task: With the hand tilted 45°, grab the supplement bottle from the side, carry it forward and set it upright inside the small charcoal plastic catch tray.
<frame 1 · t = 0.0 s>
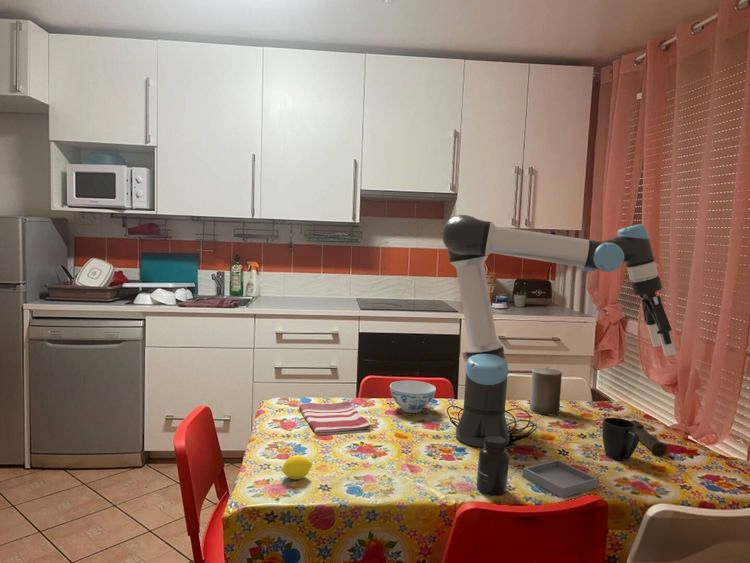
hand: (664, 350, 163), 28 cm above the table, tool tilted 20°, fingers open, 13 cm apart
dish towel: (333, 422, 174), on the table
catch tray: (559, 482, 137), on the table
pillar candle: (543, 411, 193), on the table
lemon: (296, 478, 132), on the table
hand tool: (642, 444, 166), on the table
mug: (620, 459, 153), on the table
chinaware: (411, 410, 187), on the table
supplement bottle: (491, 490, 131), on the table
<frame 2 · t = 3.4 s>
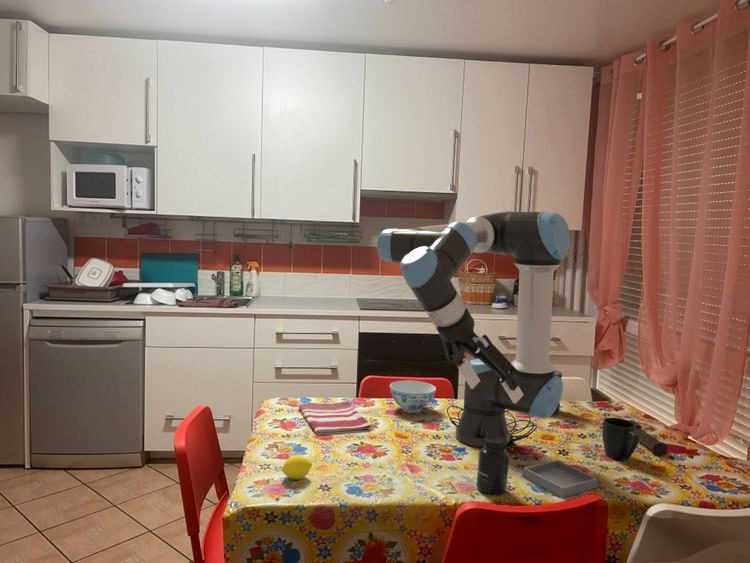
hand: (496, 391, 124), 24 cm above the table, tool tilted 40°, fingers open, 13 cm apart
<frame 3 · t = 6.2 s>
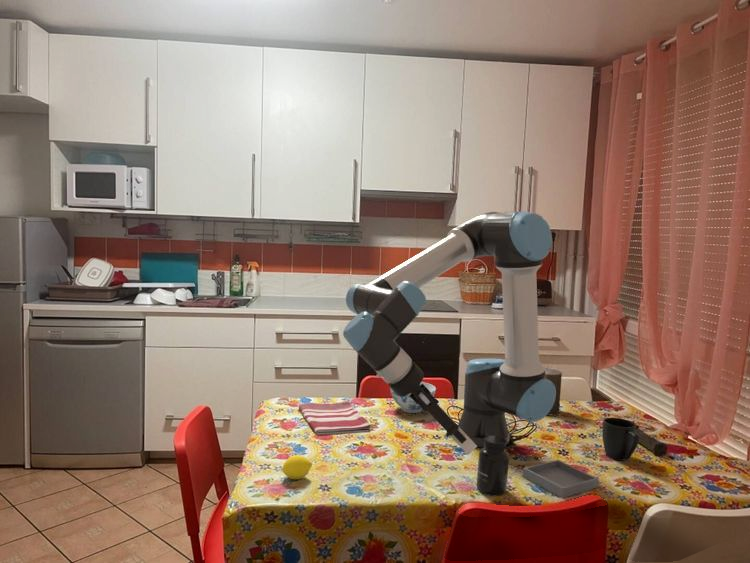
hand: (461, 438, 128), 12 cm above the table, tool tilted 45°, fingers open, 13 cm apart
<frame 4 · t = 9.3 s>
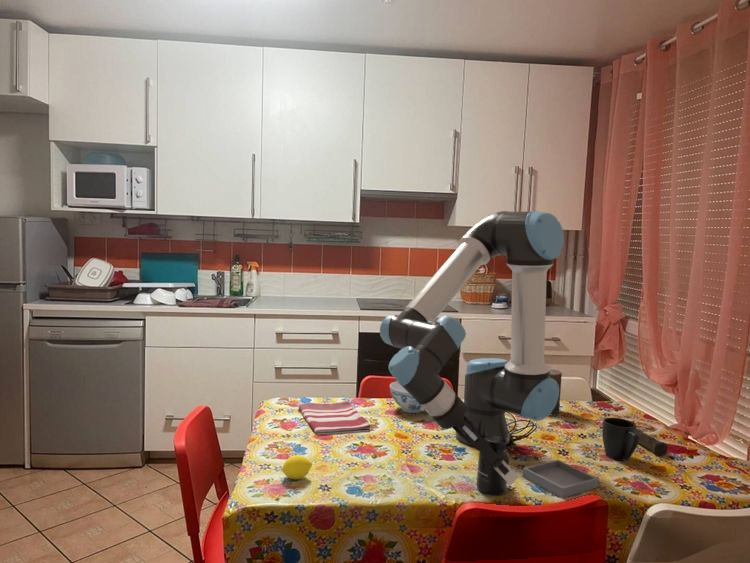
hand: (507, 473, 131), 4 cm above the table, tool tilted 45°, fingers closed on supplement bottle, 7 cm apart
supplement bottle: (491, 490, 131), on the table, touching gripper
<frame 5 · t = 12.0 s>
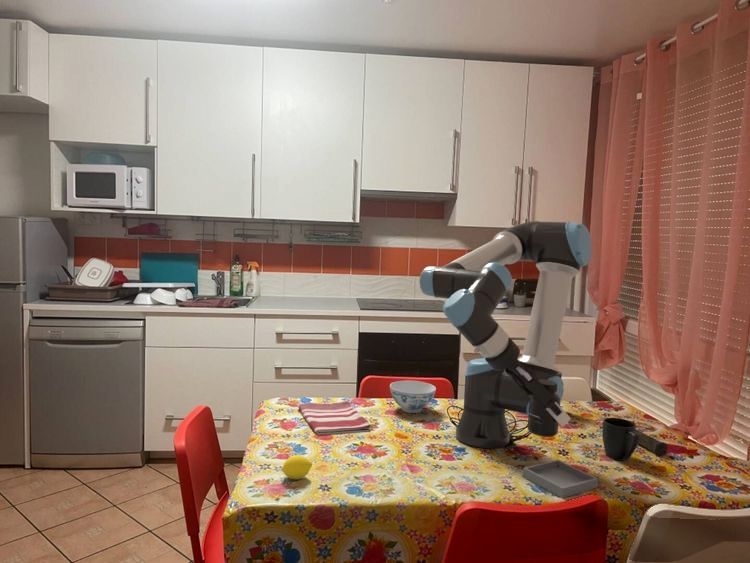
hand: (558, 416, 133), 17 cm above the table, tool tilted 45°, fingers closed on supplement bottle, 7 cm apart
supplement bottle: (542, 433, 133), point 13 cm above the table, touching gripper
when the fingers open (6 cm above the table, at t = 14.9 s): supplement bottle drops 1 cm, resting on catch tray.
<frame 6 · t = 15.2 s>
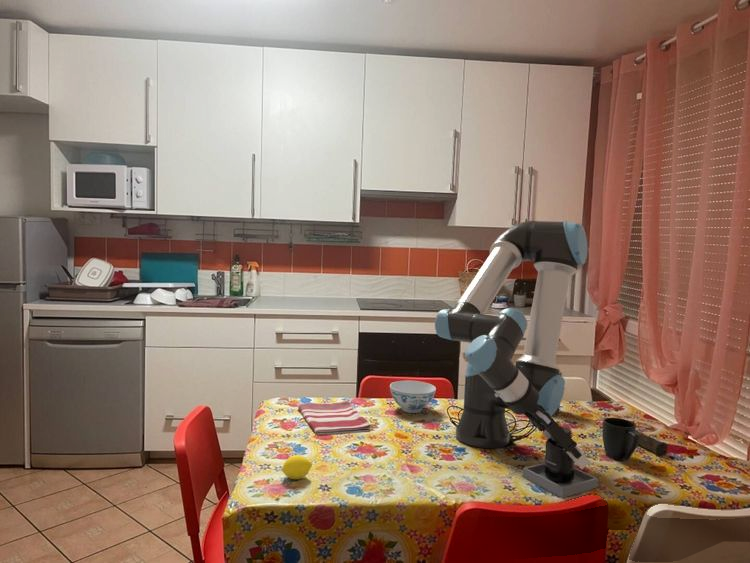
hand: (573, 455, 137), 6 cm above the table, tool tilted 45°, fingers open, 10 cm apart
supplement bottle: (559, 478, 137), point 1 cm above the table, touching catch tray
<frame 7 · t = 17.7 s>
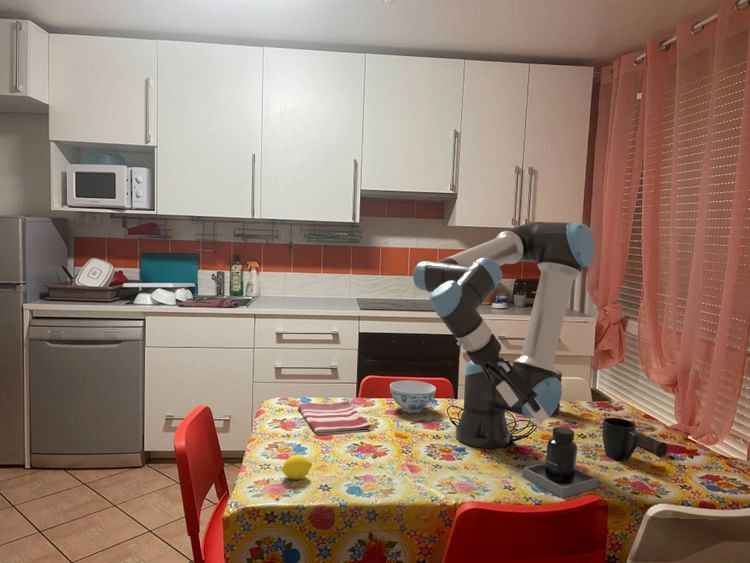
hand: (528, 411, 134), 17 cm above the table, tool tilted 40°, fingers open, 13 cm apart
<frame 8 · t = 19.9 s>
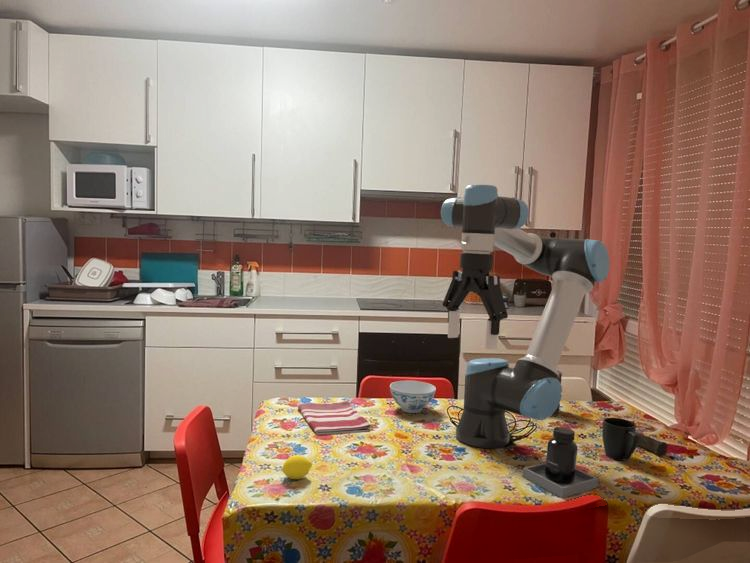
hand: (471, 342, 134), 33 cm above the table, tool pointing down, fingers open, 13 cm apart
at the end: supplement bottle 0.1 cm off-centre on the catch tray, point 0.6 cm above the catch tray's base; supplement bottle tilted 0°; the gripper is holding nothing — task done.
